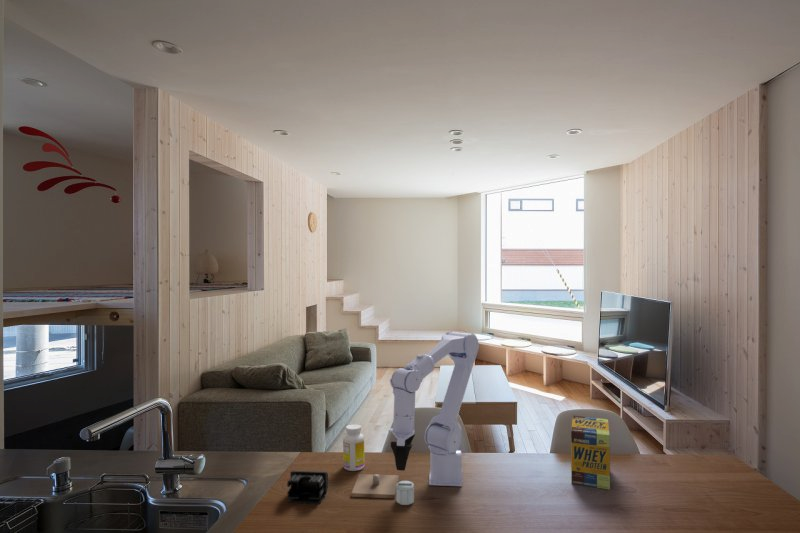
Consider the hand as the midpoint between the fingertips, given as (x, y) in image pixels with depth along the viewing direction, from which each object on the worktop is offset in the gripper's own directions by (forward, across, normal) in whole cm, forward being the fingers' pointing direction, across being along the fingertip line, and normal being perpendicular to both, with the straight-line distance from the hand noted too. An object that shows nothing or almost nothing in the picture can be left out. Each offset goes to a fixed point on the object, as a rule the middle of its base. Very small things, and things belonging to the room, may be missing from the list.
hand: (402, 464), depth 129 cm
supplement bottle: (+10, -20, -17) cm, 28 cm away
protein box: (+6, -20, +55) cm, 59 cm away
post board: (+10, -7, -8) cm, 14 cm away
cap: (+10, 0, +1) cm, 10 cm away
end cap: (+11, 0, -26) cm, 28 cm away
